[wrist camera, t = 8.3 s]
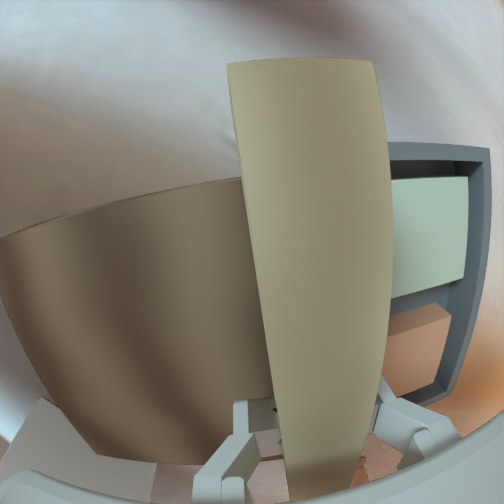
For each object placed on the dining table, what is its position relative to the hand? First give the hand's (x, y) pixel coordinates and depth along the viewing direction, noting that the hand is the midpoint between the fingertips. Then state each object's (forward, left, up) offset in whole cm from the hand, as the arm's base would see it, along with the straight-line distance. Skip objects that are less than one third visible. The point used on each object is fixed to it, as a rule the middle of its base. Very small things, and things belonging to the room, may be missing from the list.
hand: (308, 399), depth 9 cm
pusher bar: (0, 0, -1) cm, 1 cm away
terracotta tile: (+8, -4, -4) cm, 10 cm away
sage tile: (+8, +4, -4) cm, 10 cm away
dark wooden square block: (-7, 0, -7) cm, 10 cm away
